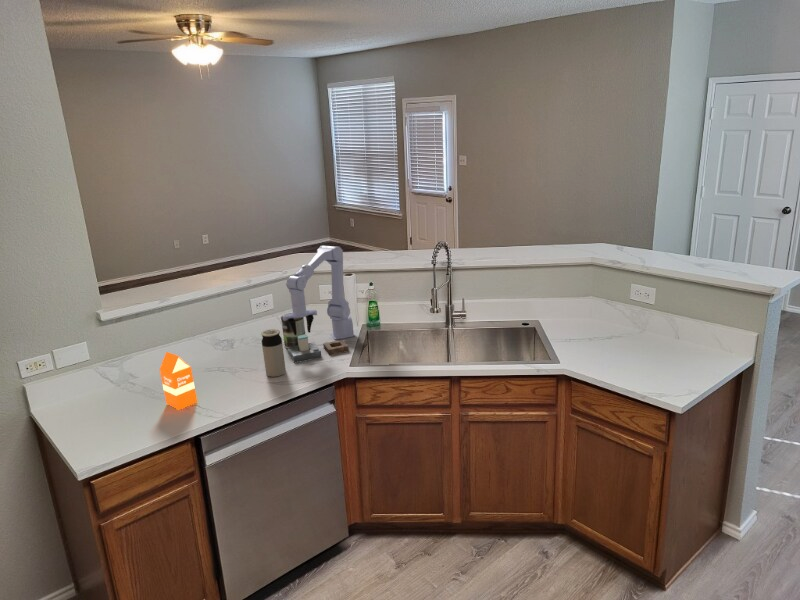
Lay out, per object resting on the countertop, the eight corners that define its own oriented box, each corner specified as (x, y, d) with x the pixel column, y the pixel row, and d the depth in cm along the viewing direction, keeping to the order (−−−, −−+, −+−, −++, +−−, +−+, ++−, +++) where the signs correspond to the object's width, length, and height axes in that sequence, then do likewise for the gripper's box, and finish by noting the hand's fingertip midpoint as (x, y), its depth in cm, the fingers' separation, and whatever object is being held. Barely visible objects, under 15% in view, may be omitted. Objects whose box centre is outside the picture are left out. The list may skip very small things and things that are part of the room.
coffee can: (287, 350, 259) (283, 321, 255) (282, 343, 268) (278, 315, 264) (309, 346, 263) (306, 317, 258) (303, 339, 272) (300, 311, 268)
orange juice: (185, 396, 219) (175, 348, 213) (197, 402, 214) (188, 352, 208) (166, 404, 214) (156, 355, 208) (178, 411, 208) (168, 360, 202)
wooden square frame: (342, 344, 261) (342, 339, 261) (348, 351, 253) (348, 345, 253) (323, 348, 258) (323, 343, 258) (329, 355, 250) (328, 349, 250)
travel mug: (275, 378, 230) (269, 336, 225) (262, 374, 235) (256, 333, 229) (290, 371, 236) (284, 330, 231) (277, 367, 241) (271, 327, 235)
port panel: (314, 348, 259) (314, 341, 258) (321, 357, 249) (320, 350, 248) (288, 353, 255) (287, 346, 254) (294, 362, 245) (293, 355, 244)
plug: (308, 353, 254) (305, 334, 252) (310, 356, 251) (307, 336, 248) (299, 354, 253) (297, 335, 250) (301, 357, 250) (299, 338, 247)
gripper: (283, 308, 239) (287, 339, 243) (317, 302, 244) (320, 332, 248) (280, 304, 245) (284, 334, 249) (313, 298, 250) (316, 328, 254)
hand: (302, 333), depth 249 cm, fingers open, 5 cm apart
